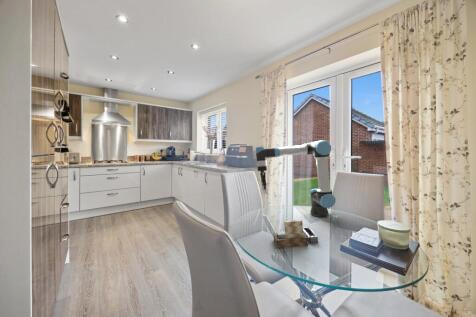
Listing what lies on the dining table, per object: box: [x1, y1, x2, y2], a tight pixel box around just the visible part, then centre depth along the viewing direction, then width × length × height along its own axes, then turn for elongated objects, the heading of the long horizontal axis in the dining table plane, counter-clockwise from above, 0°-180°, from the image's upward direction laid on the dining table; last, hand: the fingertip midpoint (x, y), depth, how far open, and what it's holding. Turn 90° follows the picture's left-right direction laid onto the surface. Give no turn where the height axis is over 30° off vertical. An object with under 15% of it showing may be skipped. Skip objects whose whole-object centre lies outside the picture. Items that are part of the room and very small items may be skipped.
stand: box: [303, 226, 319, 244], centre depth 131 cm, size 16×5×4 cm, turn 178°
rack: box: [272, 231, 309, 249], centre depth 127 cm, size 19×12×5 cm, turn 88°
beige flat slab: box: [283, 219, 304, 239], centre depth 124 cm, size 11×2×15 cm, turn 88°
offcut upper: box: [275, 230, 285, 238], centre depth 130 cm, size 5×5×3 cm
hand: (264, 191), depth 159 cm, fingers open, 13 cm apart
